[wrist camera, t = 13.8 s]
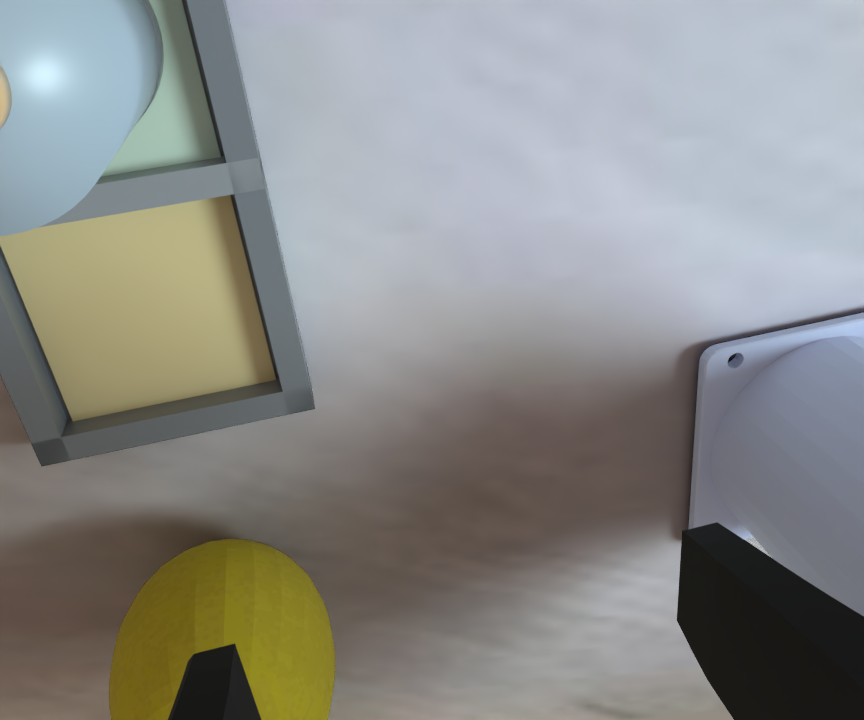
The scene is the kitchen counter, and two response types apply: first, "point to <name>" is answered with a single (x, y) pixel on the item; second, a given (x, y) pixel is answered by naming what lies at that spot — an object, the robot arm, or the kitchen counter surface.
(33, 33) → the cell
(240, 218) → the checker tray
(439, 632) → the kitchen counter surface
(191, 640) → the lemon
